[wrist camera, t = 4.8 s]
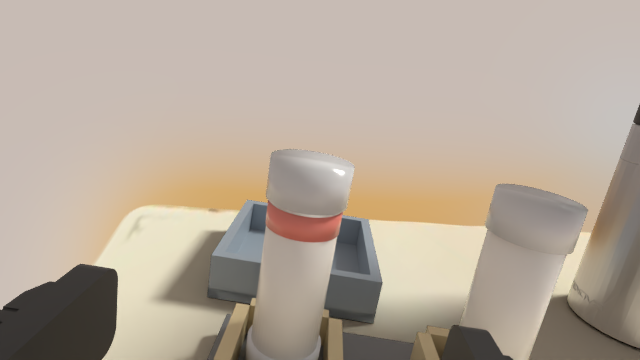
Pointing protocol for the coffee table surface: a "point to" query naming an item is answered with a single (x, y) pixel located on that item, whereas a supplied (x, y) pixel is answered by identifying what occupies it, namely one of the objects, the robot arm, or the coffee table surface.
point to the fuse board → (331, 341)
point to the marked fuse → (297, 253)
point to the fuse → (521, 264)
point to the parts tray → (345, 278)
